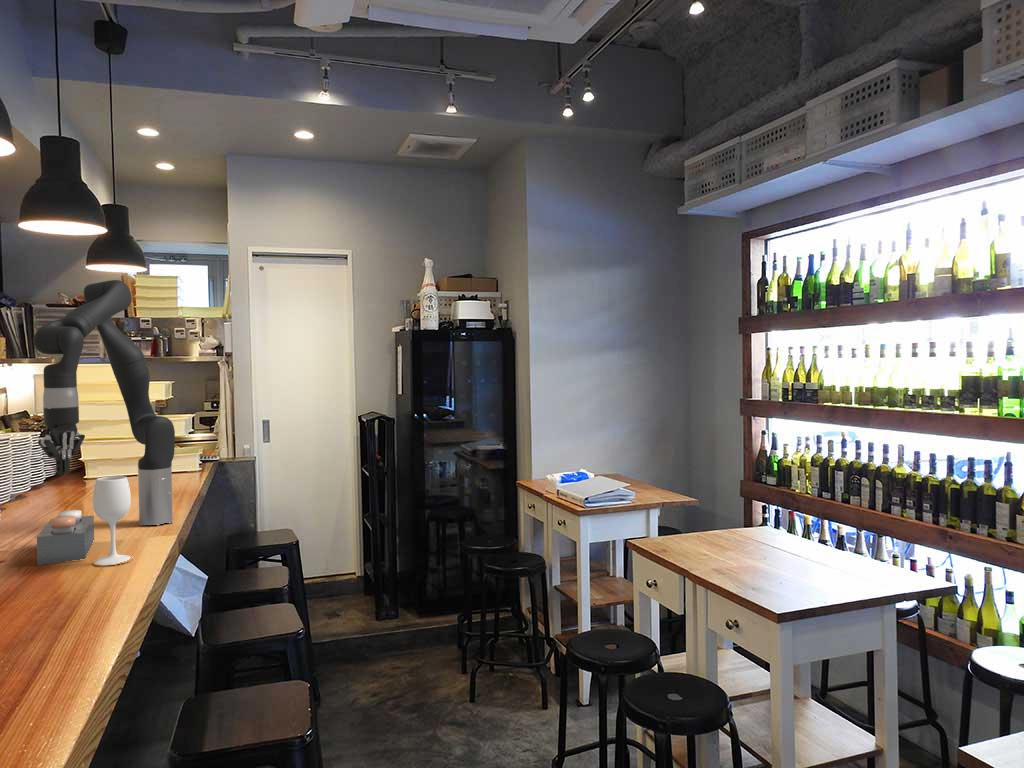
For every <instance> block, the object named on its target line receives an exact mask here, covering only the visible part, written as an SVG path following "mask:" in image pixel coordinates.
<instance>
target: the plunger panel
mask: <svg viewBox="0 0 1024 768" xmlns="http://www.w3.org/2000/svg"><path fill="white" fill-rule="evenodd" d="M94 520H95V516H94V515H84V516H82V519H80V522H76V525H75V526H74V532H66V533H54V534H53V528H52V527H51V519H50V520H49V521H48V523H47V524H46V525H45V527H44V528H42V530H41V531H40V533H38V535H37V536H36V553H37V554H36V558H37V559H36V560H37V561H36V563H37V566H46V564H47V565H53V564H52V563H57V564H61V563H60V562H66V561H72V560H80V559H85V558H86V559H87V557H86V555H87V553H88V551H89V549H90V547H91V548H92V546H93V544H94V542H93V540H94V541H95V521H94ZM92 543H93V544H92ZM91 545H92V546H91ZM90 550H91V549H90ZM89 552H90V551H89ZM88 554H89V553H88ZM87 556H88V555H87ZM86 559H85V560H86ZM66 563H67V562H66Z"/></svg>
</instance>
